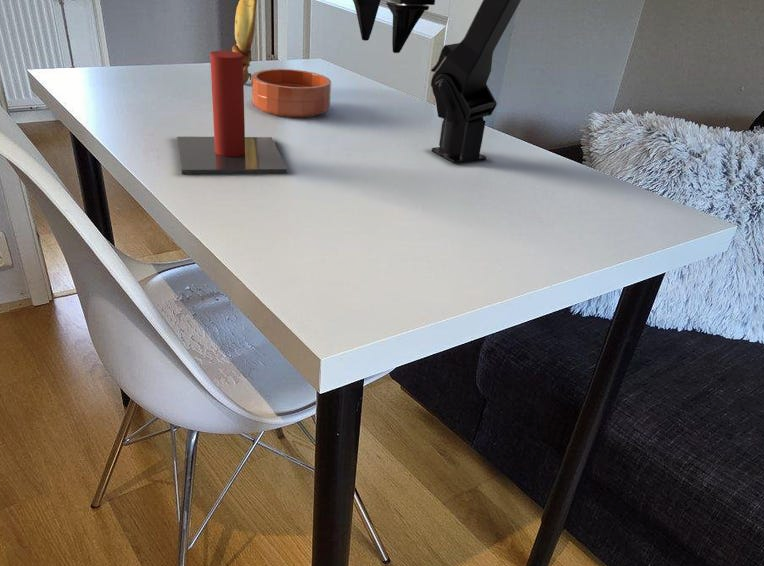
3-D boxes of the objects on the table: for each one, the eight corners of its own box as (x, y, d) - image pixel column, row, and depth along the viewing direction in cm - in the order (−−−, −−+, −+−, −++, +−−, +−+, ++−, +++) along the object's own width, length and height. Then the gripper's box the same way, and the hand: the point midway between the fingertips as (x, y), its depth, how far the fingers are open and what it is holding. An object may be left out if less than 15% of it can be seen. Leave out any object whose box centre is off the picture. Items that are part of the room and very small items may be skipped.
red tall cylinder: (248, 149, 96) (246, 53, 89) (240, 158, 93) (237, 59, 85) (220, 145, 96) (216, 49, 89) (210, 154, 93) (205, 54, 85)
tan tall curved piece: (261, 88, 127) (260, -31, 116) (234, 89, 125) (230, -33, 114) (251, 79, 132) (249, -36, 121) (225, 79, 130) (221, -38, 119)
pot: (343, 116, 117) (345, 86, 114) (272, 121, 111) (272, 90, 108) (307, 95, 126) (308, 67, 123) (240, 99, 120) (239, 70, 117)
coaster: (271, 140, 102) (271, 137, 102) (287, 173, 91) (287, 169, 91) (177, 140, 98) (176, 136, 98) (181, 174, 87) (181, 169, 87)
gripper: (311, -81, 98) (307, 34, 107) (377, -68, 86) (367, 61, 95) (374, -75, 104) (366, 34, 113) (445, -62, 91) (430, 59, 100)
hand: (380, 46), depth 105 cm, fingers open, 9 cm apart
